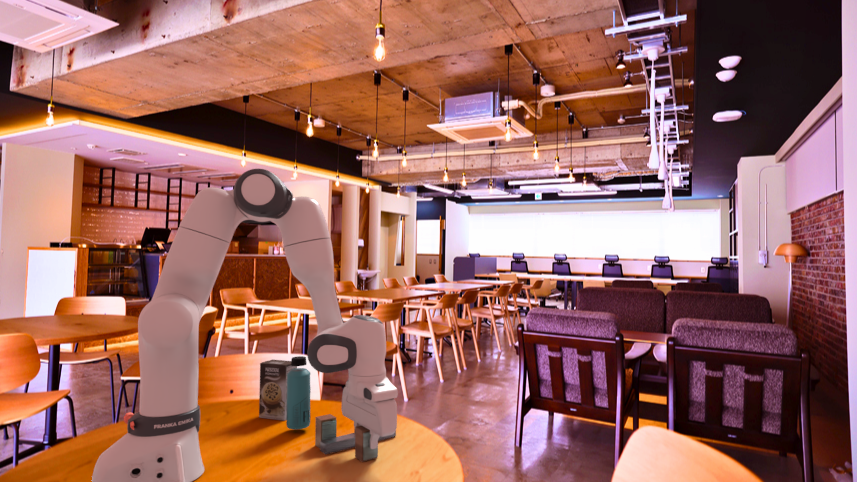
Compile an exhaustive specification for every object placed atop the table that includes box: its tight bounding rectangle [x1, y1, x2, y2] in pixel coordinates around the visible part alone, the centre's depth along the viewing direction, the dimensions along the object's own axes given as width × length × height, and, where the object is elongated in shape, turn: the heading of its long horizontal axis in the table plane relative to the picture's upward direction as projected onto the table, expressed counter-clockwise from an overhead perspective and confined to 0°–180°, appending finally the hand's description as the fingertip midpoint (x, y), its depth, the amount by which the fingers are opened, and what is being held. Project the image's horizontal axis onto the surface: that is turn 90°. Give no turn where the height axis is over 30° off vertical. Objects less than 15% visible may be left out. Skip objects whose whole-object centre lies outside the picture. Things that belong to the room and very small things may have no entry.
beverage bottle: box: [285, 355, 312, 430], centre depth 130 cm, size 6×7×20 cm
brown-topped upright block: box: [354, 426, 379, 463], centre depth 112 cm, size 4×4×7 cm
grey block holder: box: [314, 413, 397, 456], centre depth 122 cm, size 20×7×7 cm, turn 127°
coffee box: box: [258, 359, 298, 421], centre depth 142 cm, size 9×6×16 cm
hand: (366, 444), depth 112 cm, fingers closed on brown-topped upright block, 4 cm apart
